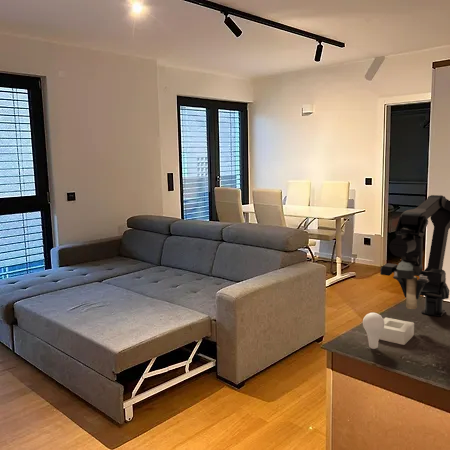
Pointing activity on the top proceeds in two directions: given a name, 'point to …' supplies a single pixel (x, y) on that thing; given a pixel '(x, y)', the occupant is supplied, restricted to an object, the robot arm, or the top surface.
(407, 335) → the socket
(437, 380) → the top surface
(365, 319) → the lightbulb
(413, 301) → the dowel
